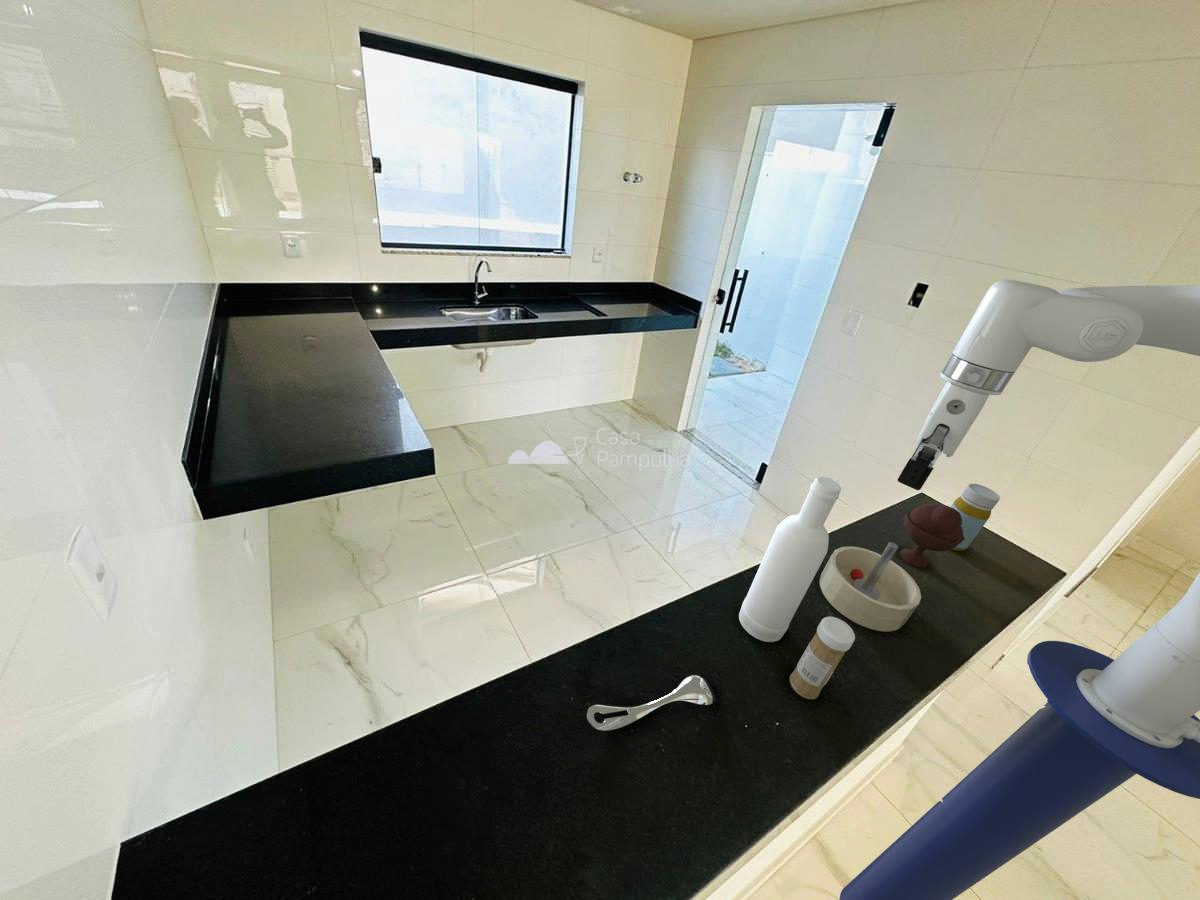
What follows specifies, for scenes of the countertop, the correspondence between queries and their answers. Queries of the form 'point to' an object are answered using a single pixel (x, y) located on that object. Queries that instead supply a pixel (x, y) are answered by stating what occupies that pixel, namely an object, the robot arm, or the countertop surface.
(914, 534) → the ice cream bowl
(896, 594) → the mixing bowl
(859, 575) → the bead
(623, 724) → the ice cream scoop
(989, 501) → the bottle
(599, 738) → the countertop surface
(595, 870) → the countertop surface
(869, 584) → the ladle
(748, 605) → the bottle
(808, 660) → the sprinkles bottle
